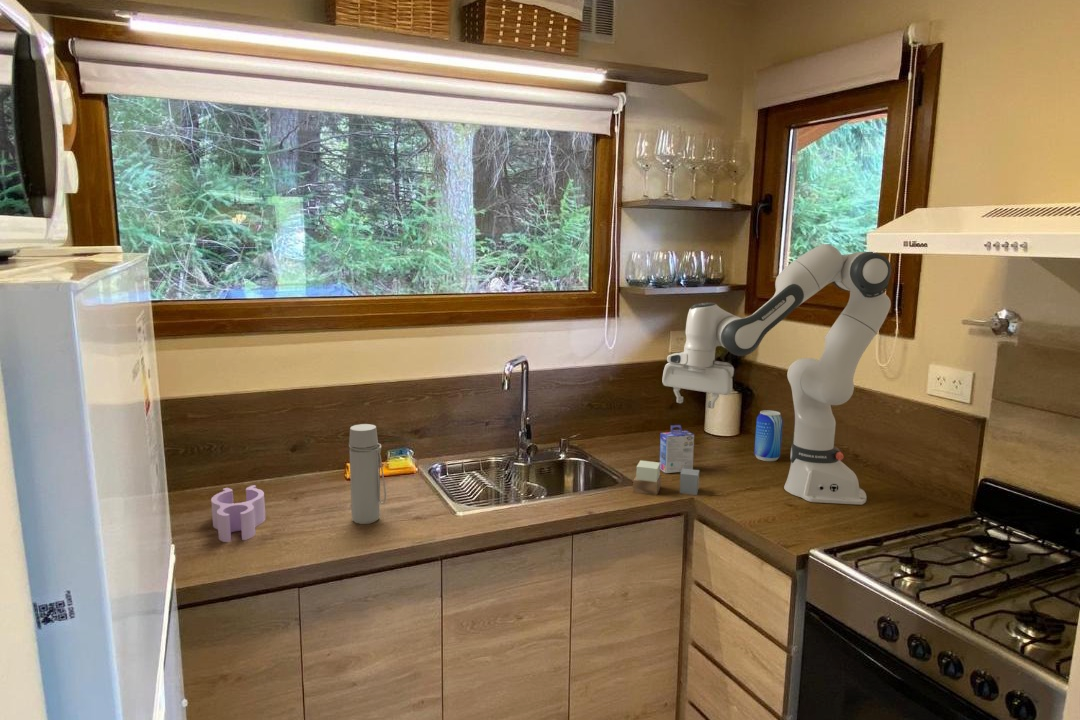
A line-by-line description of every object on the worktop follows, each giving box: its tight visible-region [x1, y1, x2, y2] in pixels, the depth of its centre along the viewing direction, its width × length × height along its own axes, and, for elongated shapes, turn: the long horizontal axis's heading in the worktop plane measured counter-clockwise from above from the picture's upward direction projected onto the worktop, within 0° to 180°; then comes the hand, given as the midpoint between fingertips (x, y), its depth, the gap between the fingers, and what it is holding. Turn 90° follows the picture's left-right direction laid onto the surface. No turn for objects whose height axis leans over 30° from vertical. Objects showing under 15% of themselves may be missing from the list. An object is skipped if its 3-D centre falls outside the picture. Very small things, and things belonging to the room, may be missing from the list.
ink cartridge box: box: [659, 424, 695, 474], centre depth 225 cm, size 10×6×14 cm, turn 106°
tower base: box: [632, 474, 662, 496], centre depth 207 cm, size 7×7×4 cm
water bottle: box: [348, 423, 387, 525], centre depth 181 cm, size 9×8×25 cm
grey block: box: [679, 468, 700, 496], centre depth 207 cm, size 5×5×6 cm
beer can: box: [753, 409, 784, 462], centre depth 238 cm, size 8×8×16 cm
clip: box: [210, 484, 266, 543], centre depth 178 cm, size 20×12×7 cm, turn 20°
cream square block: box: [635, 460, 661, 482], centre depth 207 cm, size 6×6×4 cm
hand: (695, 405), depth 205 cm, fingers open, 8 cm apart
